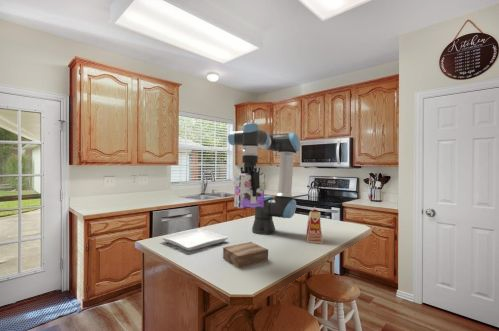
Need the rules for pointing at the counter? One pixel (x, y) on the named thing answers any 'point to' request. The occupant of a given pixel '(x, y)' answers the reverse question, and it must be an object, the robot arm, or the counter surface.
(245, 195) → the candy box
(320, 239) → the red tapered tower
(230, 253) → the walnut block
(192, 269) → the counter surface
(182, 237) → the square plate
